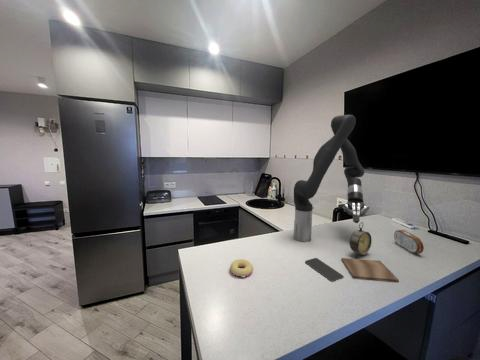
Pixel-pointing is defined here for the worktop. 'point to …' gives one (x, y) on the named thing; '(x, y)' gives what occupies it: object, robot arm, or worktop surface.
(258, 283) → the worktop surface
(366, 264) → the walnut board
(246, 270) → the donut
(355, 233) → the alarm clock
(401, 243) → the tin
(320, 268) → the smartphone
